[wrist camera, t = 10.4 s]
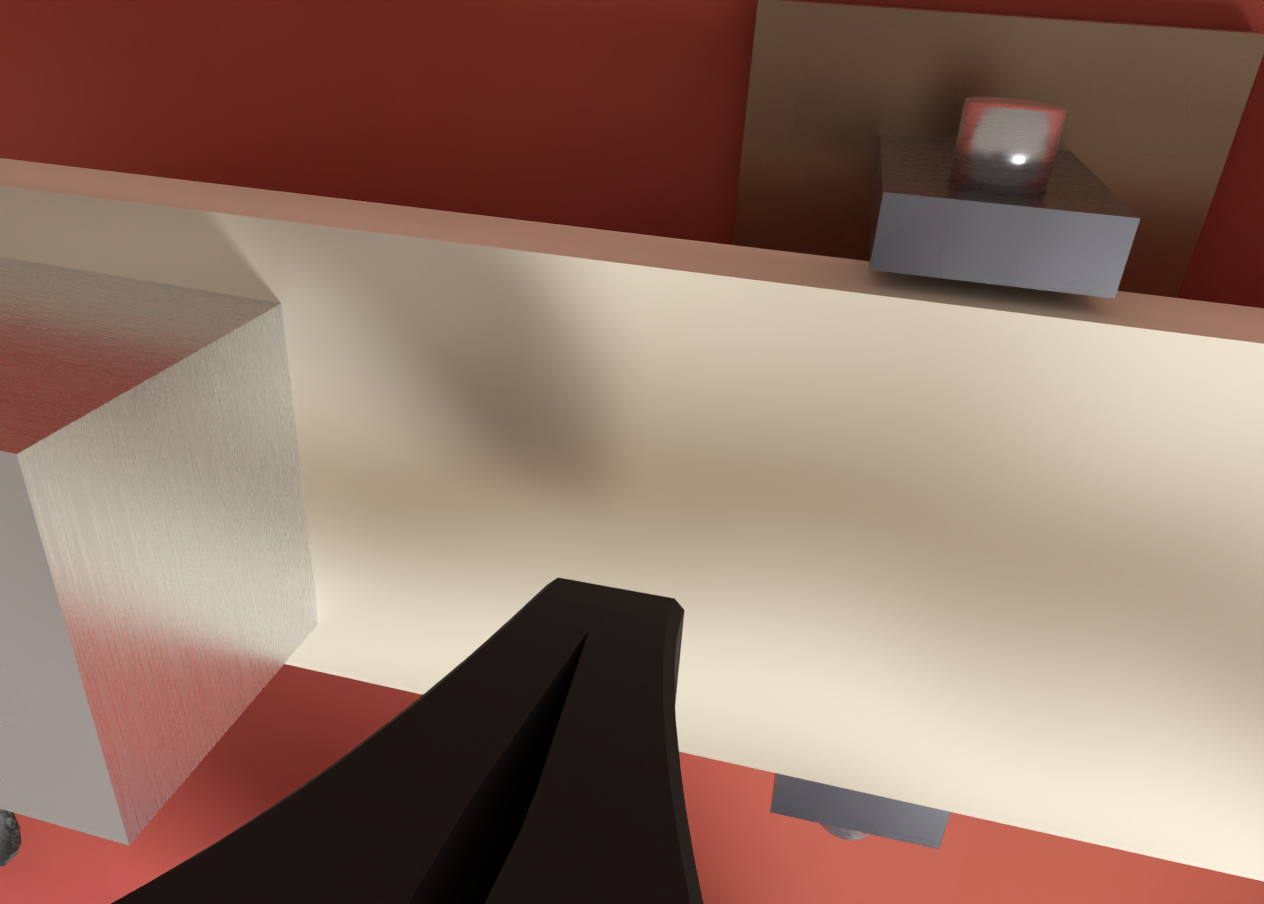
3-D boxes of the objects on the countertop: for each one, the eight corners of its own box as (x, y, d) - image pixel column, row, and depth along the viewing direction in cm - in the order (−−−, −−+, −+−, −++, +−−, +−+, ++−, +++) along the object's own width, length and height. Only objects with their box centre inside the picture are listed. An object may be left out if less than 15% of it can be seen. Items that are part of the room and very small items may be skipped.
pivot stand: (1008, 744, 17) (1043, 945, 14) (687, 681, 18) (644, 852, 15) (1255, 31, 11) (1425, 62, 8) (761, -2, 12) (719, 12, 9)
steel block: (318, 623, 14) (129, 846, 10) (30, 557, 15) (-235, 741, 11) (281, 303, 11) (17, 454, 8) (-64, 246, 12) (-440, 359, 9)
